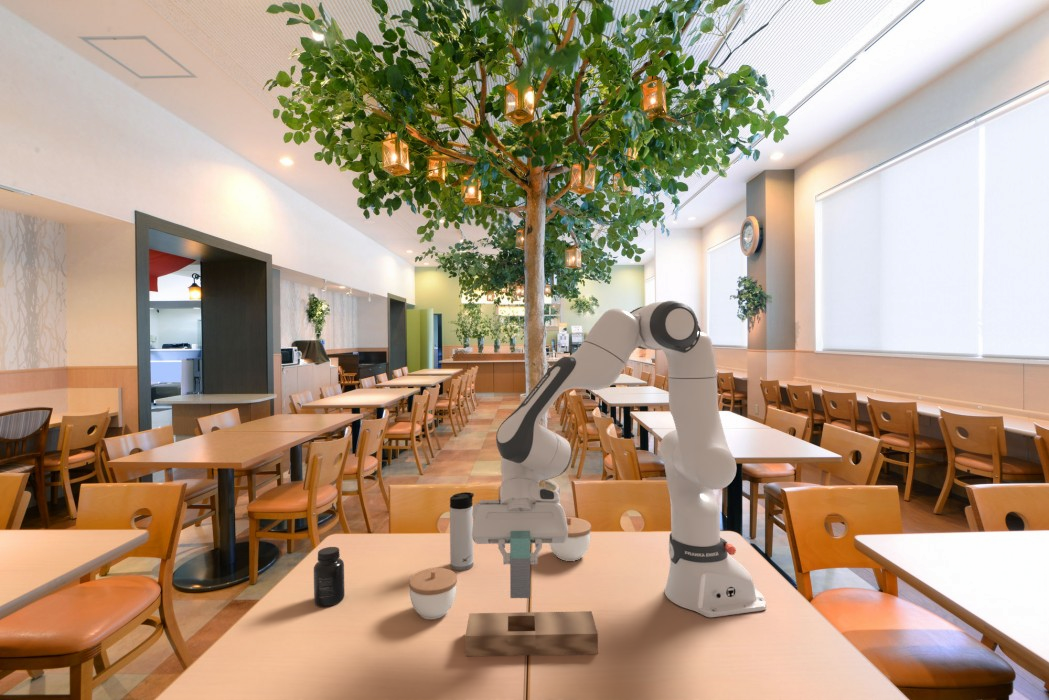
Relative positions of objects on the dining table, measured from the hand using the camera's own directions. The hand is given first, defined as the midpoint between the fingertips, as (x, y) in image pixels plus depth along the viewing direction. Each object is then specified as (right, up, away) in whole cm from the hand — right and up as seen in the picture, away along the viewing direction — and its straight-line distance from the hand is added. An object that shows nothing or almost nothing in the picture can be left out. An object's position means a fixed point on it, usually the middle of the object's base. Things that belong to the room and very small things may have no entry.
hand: (520, 563), depth 99 cm
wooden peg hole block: (+2, -17, +1) cm, 17 cm away
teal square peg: (0, -6, +1) cm, 6 cm away
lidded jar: (-20, -17, +13) cm, 29 cm away
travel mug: (-16, -16, +36) cm, 43 cm away
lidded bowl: (+14, -16, +41) cm, 46 cm away
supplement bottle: (-46, -17, +18) cm, 52 cm away
